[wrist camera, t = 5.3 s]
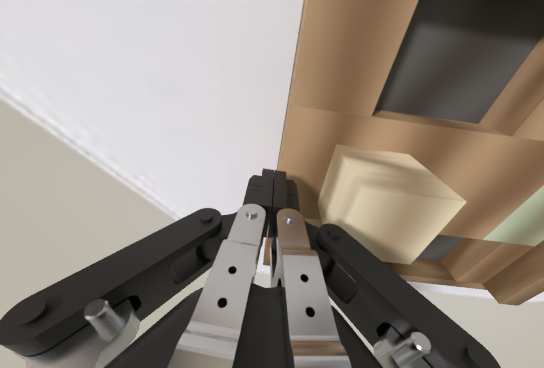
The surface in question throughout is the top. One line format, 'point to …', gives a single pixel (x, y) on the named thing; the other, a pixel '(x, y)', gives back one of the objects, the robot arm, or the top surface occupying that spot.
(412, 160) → the birch block
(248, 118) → the top surface
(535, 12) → the box
